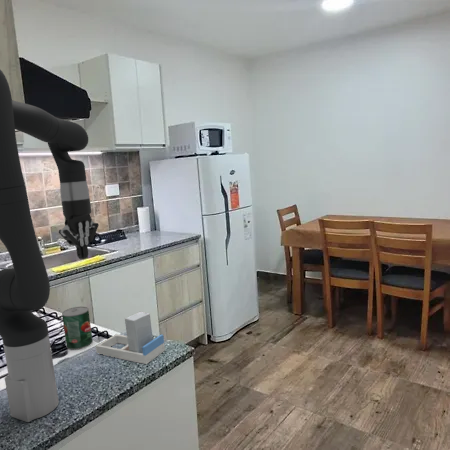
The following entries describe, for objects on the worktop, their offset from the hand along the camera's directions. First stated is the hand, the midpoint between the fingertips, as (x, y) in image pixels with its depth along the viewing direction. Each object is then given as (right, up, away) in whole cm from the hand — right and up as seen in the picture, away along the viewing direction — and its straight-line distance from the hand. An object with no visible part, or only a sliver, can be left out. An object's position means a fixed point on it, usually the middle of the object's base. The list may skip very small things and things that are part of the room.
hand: (83, 258), depth 114 cm
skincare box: (+17, -28, +1) cm, 33 cm away
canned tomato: (-5, -28, +12) cm, 31 cm away
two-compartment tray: (+13, -28, +3) cm, 31 cm away
